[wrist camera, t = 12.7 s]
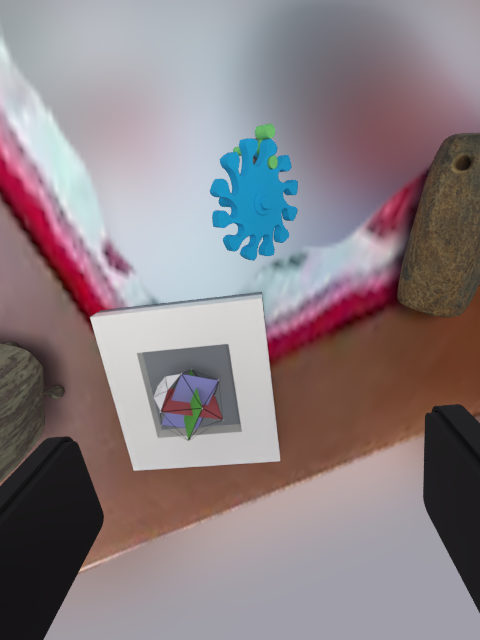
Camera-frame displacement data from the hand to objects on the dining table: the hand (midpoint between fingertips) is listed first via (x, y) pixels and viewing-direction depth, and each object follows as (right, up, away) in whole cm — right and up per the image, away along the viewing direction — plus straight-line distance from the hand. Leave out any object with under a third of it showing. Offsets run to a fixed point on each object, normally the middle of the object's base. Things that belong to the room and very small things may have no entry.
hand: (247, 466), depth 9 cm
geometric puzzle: (-5, -4, +30) cm, 30 cm away
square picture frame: (-6, -3, +30) cm, 31 cm away
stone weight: (+19, +13, +24) cm, 33 cm away
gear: (+2, +16, +24) cm, 29 cm away
